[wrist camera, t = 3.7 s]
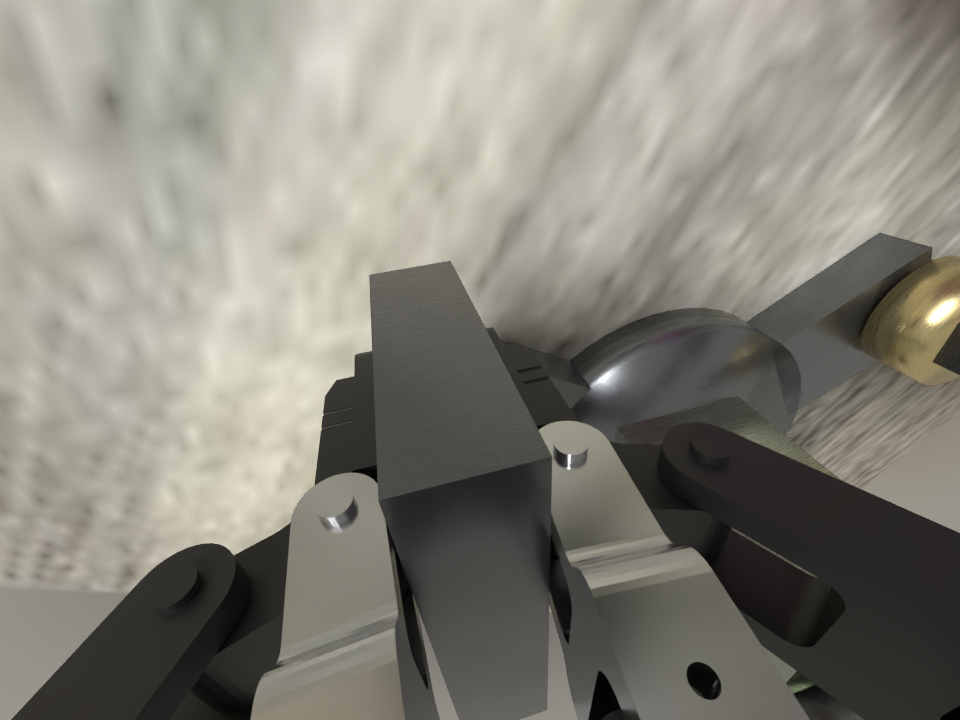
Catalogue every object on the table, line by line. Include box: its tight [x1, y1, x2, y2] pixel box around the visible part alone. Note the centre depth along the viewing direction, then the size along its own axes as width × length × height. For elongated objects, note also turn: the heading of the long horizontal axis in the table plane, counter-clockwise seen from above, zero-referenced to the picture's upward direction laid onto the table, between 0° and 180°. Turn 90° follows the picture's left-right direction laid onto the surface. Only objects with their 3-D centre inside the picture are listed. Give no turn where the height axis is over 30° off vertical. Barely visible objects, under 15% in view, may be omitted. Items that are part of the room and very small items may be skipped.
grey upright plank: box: [369, 261, 552, 720], centre depth 10 cm, size 9×5×8 cm, turn 5°
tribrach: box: [500, 233, 932, 720], centre depth 17 cm, size 25×22×14 cm
